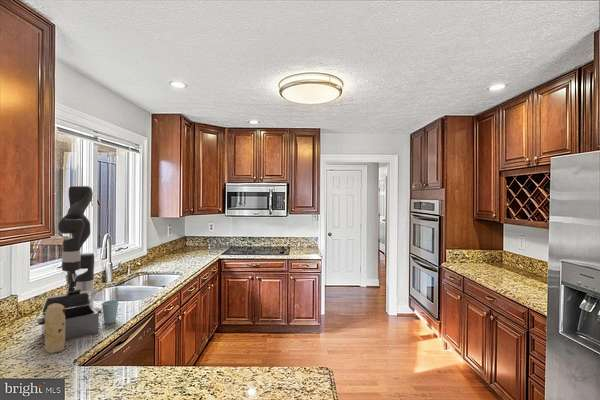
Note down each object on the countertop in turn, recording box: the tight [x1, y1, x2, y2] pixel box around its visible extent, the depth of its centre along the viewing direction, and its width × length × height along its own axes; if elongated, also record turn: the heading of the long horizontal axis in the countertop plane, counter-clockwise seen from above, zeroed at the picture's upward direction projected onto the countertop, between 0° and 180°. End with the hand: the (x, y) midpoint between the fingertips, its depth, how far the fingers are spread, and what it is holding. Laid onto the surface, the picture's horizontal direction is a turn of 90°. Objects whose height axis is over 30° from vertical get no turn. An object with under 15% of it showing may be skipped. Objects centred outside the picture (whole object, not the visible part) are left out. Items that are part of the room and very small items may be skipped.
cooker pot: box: [36, 305, 103, 342], centre depth 171 cm, size 18×26×10 cm
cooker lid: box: [41, 288, 98, 313], centre depth 172 cm, size 21×20×2 cm
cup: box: [101, 299, 119, 324], centre depth 188 cm, size 8×8×10 cm
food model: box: [44, 303, 66, 354], centre depth 152 cm, size 10×7×20 cm
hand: (71, 295), depth 170 cm, fingers closed
